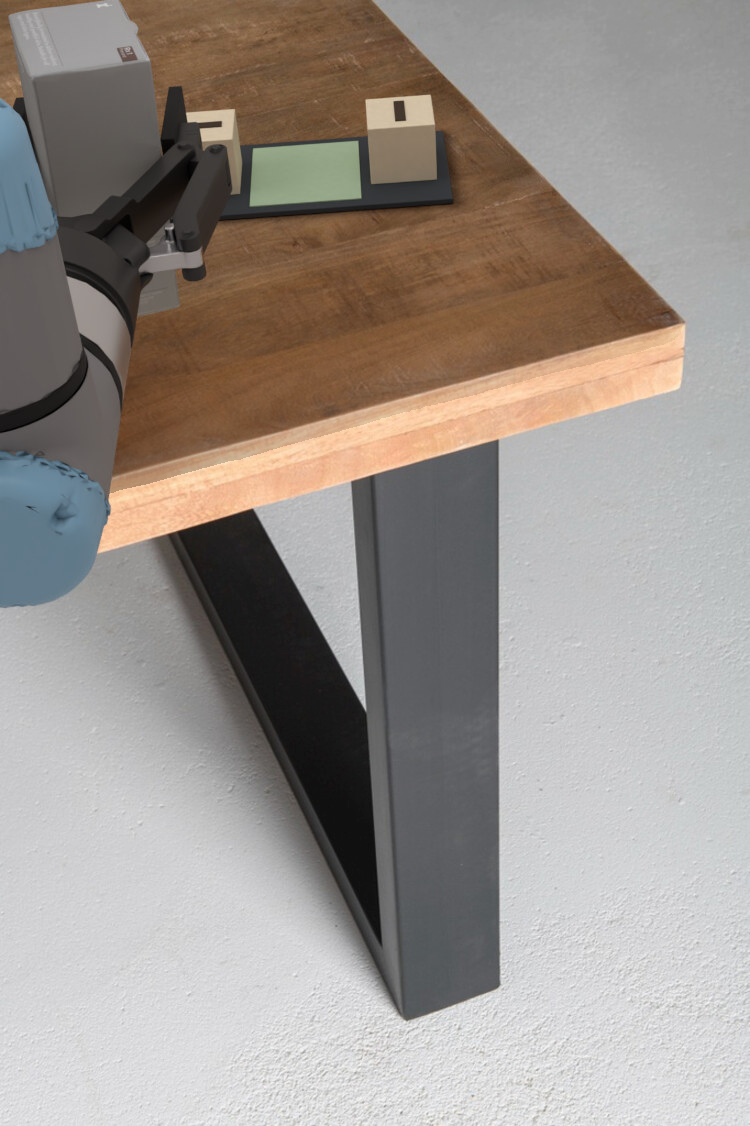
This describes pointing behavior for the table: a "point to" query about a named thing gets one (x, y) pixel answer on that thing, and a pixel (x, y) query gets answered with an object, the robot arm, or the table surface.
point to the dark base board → (336, 164)
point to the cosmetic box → (90, 113)
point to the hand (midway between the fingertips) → (103, 113)
